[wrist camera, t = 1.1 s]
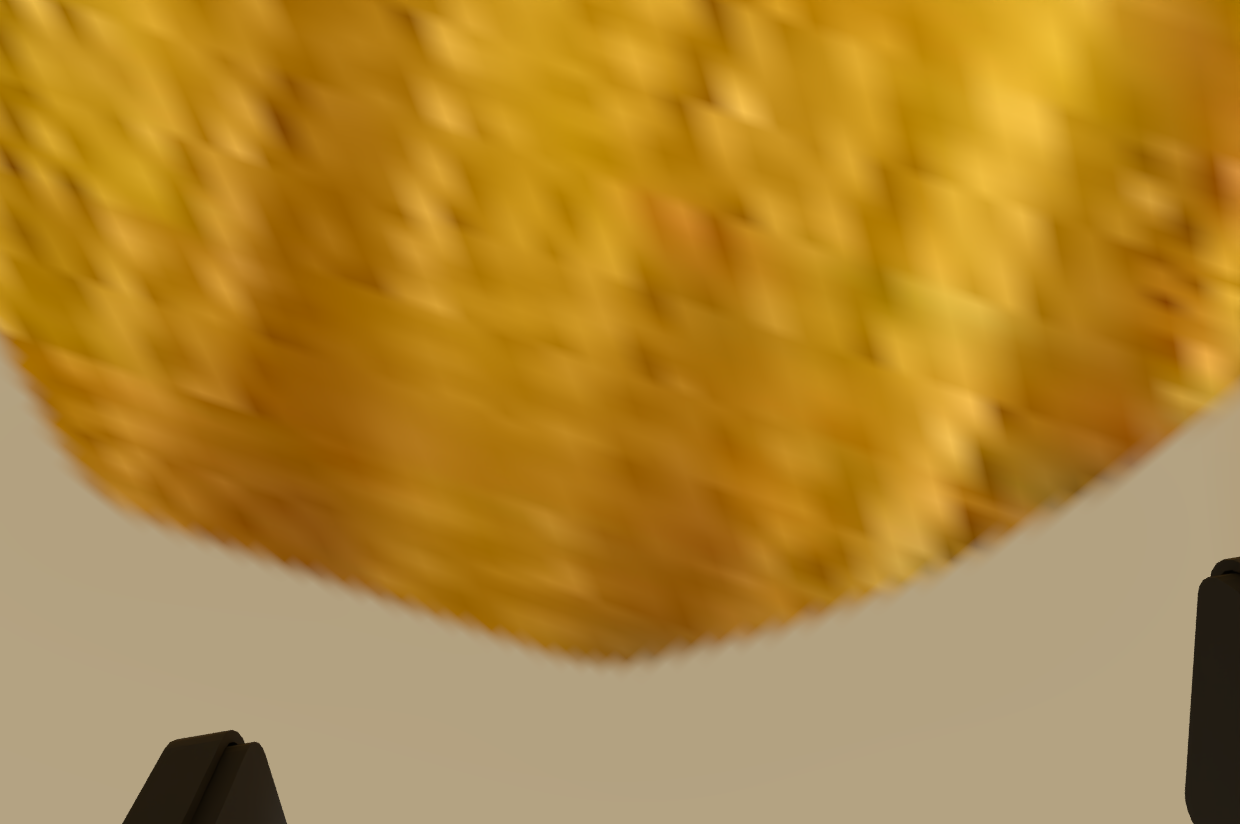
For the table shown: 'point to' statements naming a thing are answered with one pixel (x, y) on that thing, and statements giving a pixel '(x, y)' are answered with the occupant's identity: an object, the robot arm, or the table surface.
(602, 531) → the table surface
